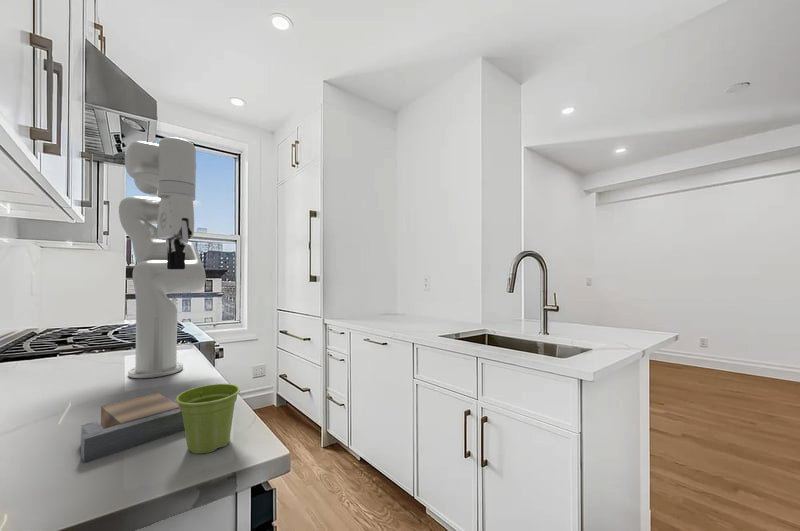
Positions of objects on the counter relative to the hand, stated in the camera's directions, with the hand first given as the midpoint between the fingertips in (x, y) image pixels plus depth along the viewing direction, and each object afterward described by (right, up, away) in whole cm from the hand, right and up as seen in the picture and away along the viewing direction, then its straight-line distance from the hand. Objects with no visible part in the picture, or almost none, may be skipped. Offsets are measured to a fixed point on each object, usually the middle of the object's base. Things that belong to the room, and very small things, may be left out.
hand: (176, 269), depth 82 cm
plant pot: (+21, -29, -25) cm, 44 cm away
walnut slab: (+5, -29, -18) cm, 35 cm away
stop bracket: (+9, -29, -20) cm, 36 cm away
